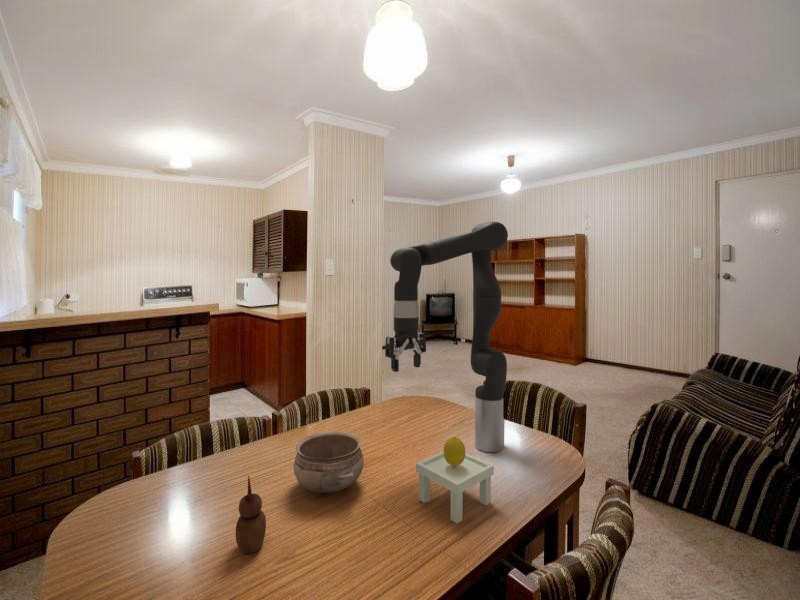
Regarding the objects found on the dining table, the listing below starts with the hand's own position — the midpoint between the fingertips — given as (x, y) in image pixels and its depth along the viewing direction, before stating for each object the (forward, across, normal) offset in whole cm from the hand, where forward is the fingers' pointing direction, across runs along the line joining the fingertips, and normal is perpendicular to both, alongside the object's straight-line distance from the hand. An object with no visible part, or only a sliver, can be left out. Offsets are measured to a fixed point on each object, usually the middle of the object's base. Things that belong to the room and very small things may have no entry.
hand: (406, 369), depth 118 cm
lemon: (+21, -3, -22) cm, 31 cm away
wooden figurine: (+30, -49, -5) cm, 58 cm away
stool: (+30, -3, -22) cm, 37 cm away
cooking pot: (+30, -24, +5) cm, 39 cm away
